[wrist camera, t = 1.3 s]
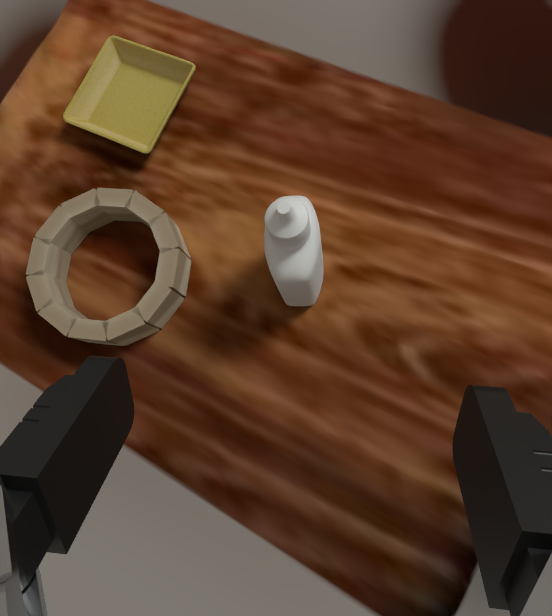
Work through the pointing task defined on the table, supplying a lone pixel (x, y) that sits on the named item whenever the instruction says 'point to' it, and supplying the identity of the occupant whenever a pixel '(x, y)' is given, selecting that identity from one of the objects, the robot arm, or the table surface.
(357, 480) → the table surface
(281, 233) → the eye dropper bottle
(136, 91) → the yellow square tray
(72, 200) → the birch ring collar
